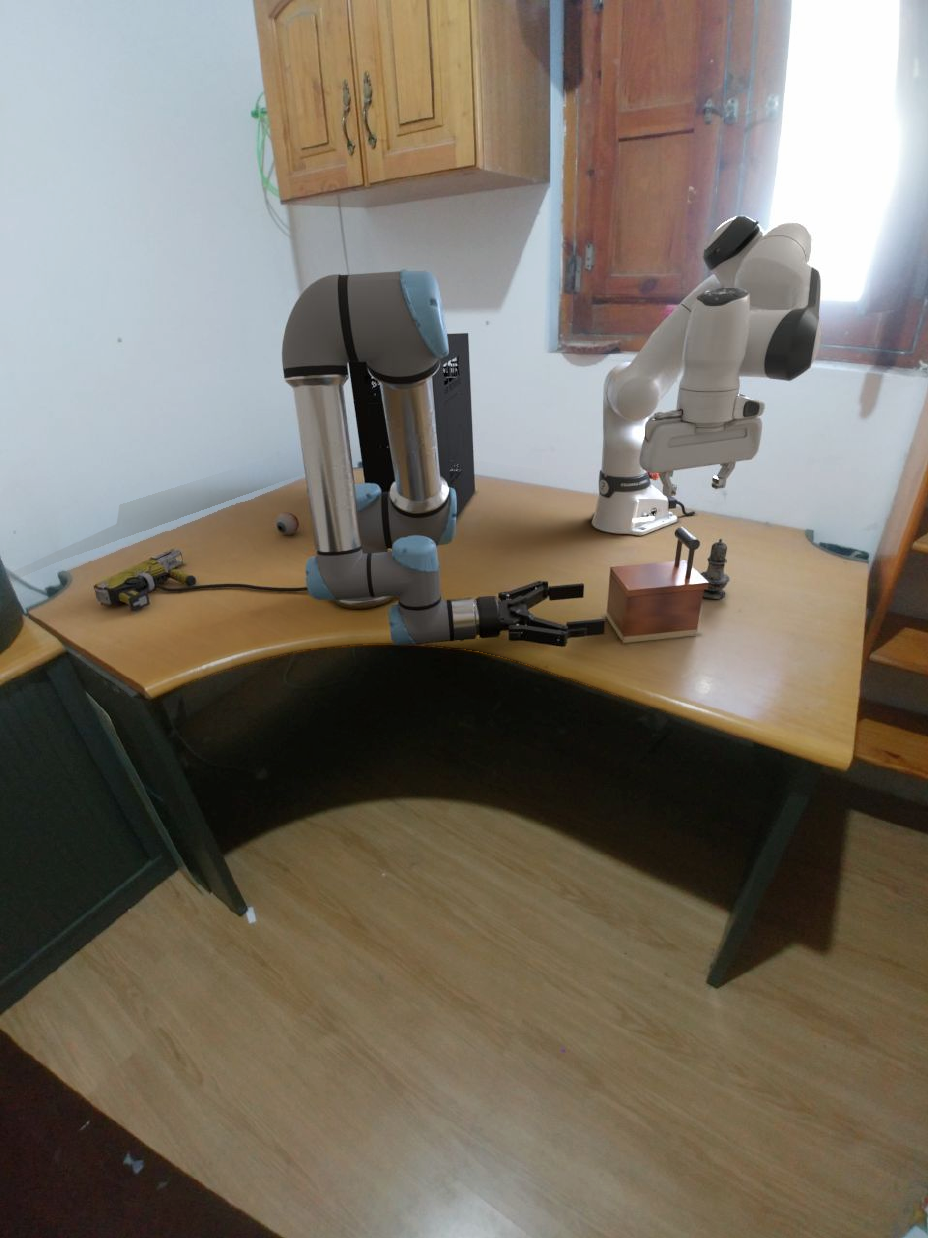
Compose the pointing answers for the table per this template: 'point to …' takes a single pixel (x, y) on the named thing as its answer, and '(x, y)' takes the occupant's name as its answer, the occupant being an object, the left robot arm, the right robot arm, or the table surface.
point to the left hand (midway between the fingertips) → (593, 607)
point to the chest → (653, 614)
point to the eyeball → (287, 523)
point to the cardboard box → (449, 419)
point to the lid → (662, 572)
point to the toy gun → (141, 581)
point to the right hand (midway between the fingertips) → (693, 491)
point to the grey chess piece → (716, 571)
